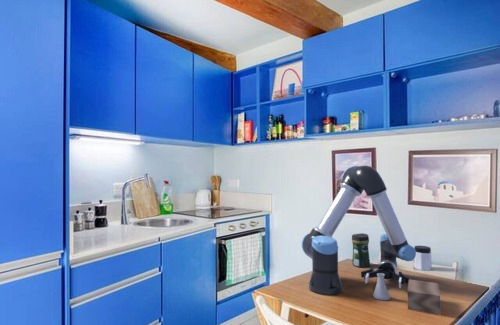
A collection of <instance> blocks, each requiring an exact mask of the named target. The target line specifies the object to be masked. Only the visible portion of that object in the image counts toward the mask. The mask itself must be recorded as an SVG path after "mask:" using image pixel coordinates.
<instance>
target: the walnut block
mask: <svg viewBox="0 0 500 325" xmlns="http://www.w3.org/2000/svg"><path fill="white" fill-rule="evenodd" d="M406 291H407V310H411V311H416V312H422V313H427V314H428V313H429V314H434V315H439V316H441V313H442V312H441V294H440V293H441V292H440V288H439V282H432V281H423V280H416V279H410V278H409V282H408V284H407V290H406Z"/></svg>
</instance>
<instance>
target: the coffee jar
mask: <svg viewBox="0 0 500 325" xmlns="http://www.w3.org/2000/svg"><path fill="white" fill-rule="evenodd" d="M351 242H352V266H354V267H356V268H366V267H369V266H371V260H370V252H369V251H370V250H369V242H370V238H369V235H368V234H367V233H363V232H362V233H354V234H352V235H351Z"/></svg>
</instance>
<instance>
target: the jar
mask: <svg viewBox="0 0 500 325" xmlns="http://www.w3.org/2000/svg"><path fill="white" fill-rule="evenodd" d="M413 248H414V249H415V251H416V256H415V258H414V259H413V260H414V269H417V270H419V271H428V272H429V271H431V270H432V250H431V247H430V246H426V245H415V246H414V247H413Z"/></svg>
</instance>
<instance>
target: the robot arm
mask: <svg viewBox="0 0 500 325" xmlns="http://www.w3.org/2000/svg"><path fill="white" fill-rule="evenodd" d="M341 179H342V180H341V182H340V183H339V185H340V189H339V191H338V192H337V194H336V196H335V198H334V199H333V201H332V202H331V204H329V207H328V209H327V210H326V212H325V213H324V215H323V217H322V218H321V220H320V221H319V224H318V225H317V226H315V227H312V229H311V230H310V232H309V233H307V234H306V235H304V237H302V240H301V248H302V250H303V252H304V254H305V255H306V256H307V257H308V258H311V259H312V261H311V262H312V264H311V266H312V271H311V275H310V279H309V282H308V289H309V291H311V292H312V293H314V294H319V295H324V296H325V295H328V296H329V295H330V296H331V295H332V296H333V295H338V294H340V293H342V292H343V284H342V280H341V278H340V277H341V276H340V274H339V246H338V241H337V240H336V239H335V238H334V237H333V235H334V233H335V232H336V231H337V229H338V227H339V226H340V224H341V222H342V220H343V219H344V217H345V216H346V214H347V213H348V211H349V209H350V208H351V206H352V204H353V203H354V201H355V199H356V198H357V197H360V196H361V195H362V194H363V192H365V194H366V196H367V197H368V198H370V199H371V202H372V204H373V207H374V209H375V211H376V214H377V216H378V219H379V220H380V221H379V222H380V223H381V225H382V227H383V230H384V232H385V233H383V234H381V235H380V237H379V238H380V239H379V246H380V264H379V265H378V269H374V268H373V267H371V268H369V269H366V270H363V271H361V272H360V278H362V279H363V280H364V283H365V284H368V283H369V280H370V279H372V278H378V276H377V273H383V274H385V276H384V280H387V281H388V280H389V281H390V280H393V281H397V282H398V288H399V289H402V285H406V284H407V285H408V282H409V279H410V277H408V276H406V274H404V273H403V271H398V272H397V271H396V270H397V267H398V262H397V258H398V259H399V260H402V261H405V262H411V261H413V260H414V258H415V256H416V251H415V249H414V247H413V246H412V245H410V244H409V242H408V240H407V238H406V236H405V233H404V230H403V229H402V227H401V224H400V222H399V219H398V217H397V215H396V213H395V210H394V207H393V205H392V204H391V201H390V199H389V197H388V194H387V190H388V189H387V187H386V184H385V182H384V180H383V178H382V177H381V175H380V173H379V172H378V171H377V170H376V169H375V168H374V167H372V166H370V165H359V166H358V165H353V166H350V167H348V168H346V169H345V170H344V171H343V174H342V178H341Z"/></svg>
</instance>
